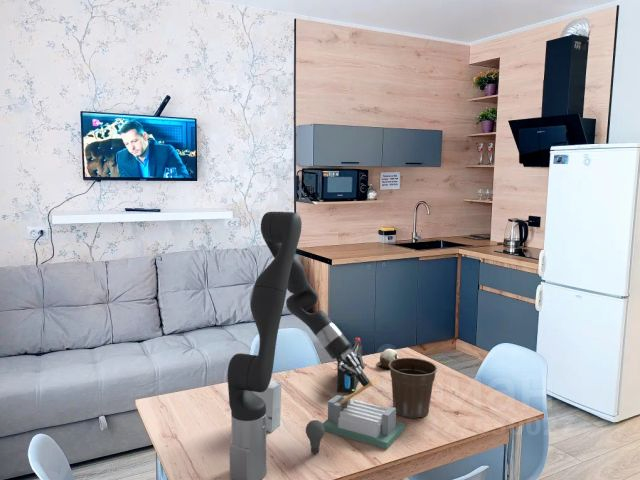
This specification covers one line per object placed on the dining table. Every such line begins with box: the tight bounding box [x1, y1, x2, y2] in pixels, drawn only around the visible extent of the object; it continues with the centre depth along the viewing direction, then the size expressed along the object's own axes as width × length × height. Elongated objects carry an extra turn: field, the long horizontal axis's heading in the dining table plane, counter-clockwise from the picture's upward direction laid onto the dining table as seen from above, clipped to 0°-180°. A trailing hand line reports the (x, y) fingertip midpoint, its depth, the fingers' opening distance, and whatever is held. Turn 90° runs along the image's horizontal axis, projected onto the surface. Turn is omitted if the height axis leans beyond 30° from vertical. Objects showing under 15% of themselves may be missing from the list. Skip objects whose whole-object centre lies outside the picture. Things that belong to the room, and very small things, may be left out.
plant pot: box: [389, 357, 438, 419], centre depth 182 cm, size 16×16×16 cm
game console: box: [336, 336, 363, 394], centre depth 206 cm, size 28×6×15 cm, turn 167°
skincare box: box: [252, 379, 283, 433], centre depth 171 cm, size 8×6×15 cm
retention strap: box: [339, 378, 378, 404], centre depth 169 cm, size 15×4×1 cm
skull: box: [375, 348, 400, 372], centre depth 225 cm, size 12×10×10 cm
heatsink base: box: [321, 394, 406, 450], centre depth 169 cm, size 14×22×8 cm, turn 59°
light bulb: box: [305, 419, 326, 455], centre depth 155 cm, size 6×6×10 cm
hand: (367, 384), depth 167 cm, fingers closed
